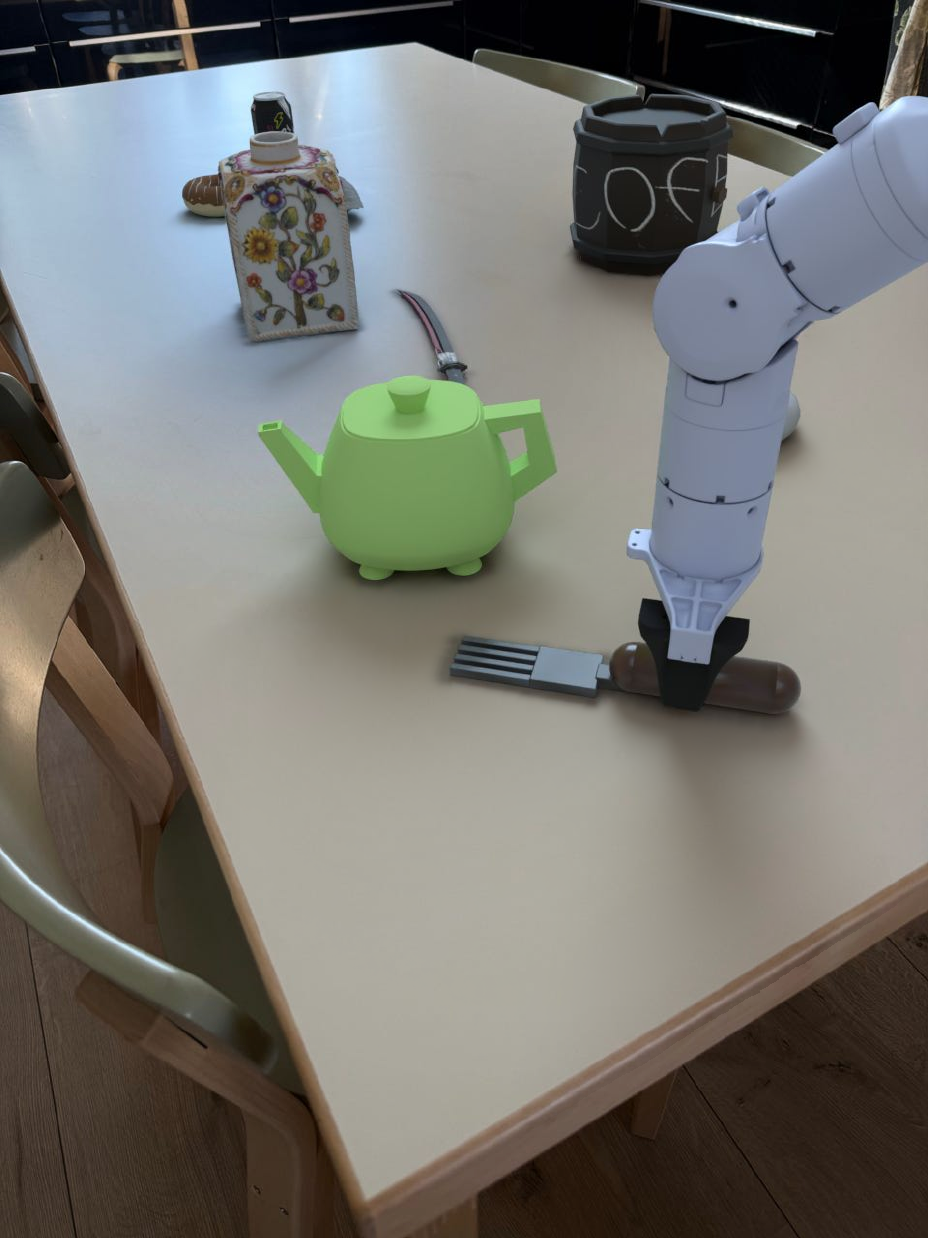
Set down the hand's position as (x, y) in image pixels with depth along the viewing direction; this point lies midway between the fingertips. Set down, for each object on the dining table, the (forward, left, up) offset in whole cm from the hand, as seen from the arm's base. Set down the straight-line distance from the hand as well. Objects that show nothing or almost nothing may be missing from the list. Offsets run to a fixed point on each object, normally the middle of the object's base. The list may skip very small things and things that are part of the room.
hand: (685, 675), depth 58 cm
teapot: (+23, +4, -2) cm, 23 cm away
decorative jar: (+67, -9, -2) cm, 68 cm away
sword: (+52, -16, -2) cm, 54 cm away
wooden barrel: (+58, -51, -2) cm, 77 cm away
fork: (+3, +2, -1) cm, 4 cm away
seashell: (+96, -29, -2) cm, 100 cm away
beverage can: (+115, -31, -2) cm, 119 cm away
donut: (+21, -27, -2) cm, 34 cm away
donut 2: (+109, -19, -2) cm, 111 cm away
